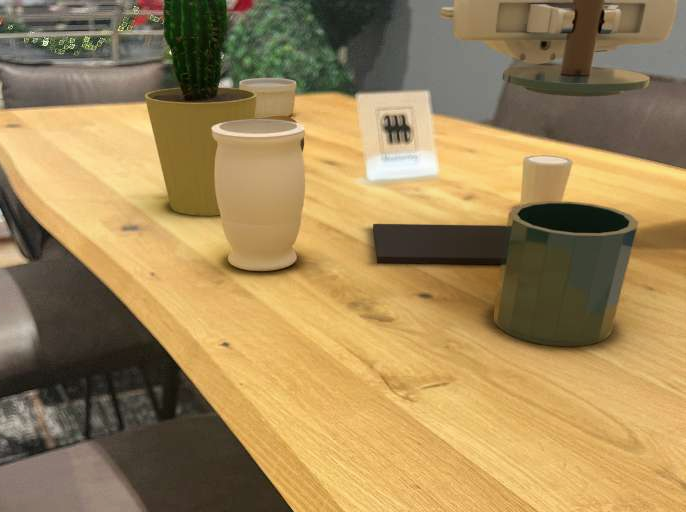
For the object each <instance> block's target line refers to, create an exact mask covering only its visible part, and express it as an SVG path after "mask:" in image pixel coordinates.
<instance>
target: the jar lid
mask: <svg viewBox="0 0 686 512" xmlns="http://www.w3.org/2000/svg"><path fill="white" fill-rule="evenodd" d="M604 2H605V0H573V2H572V8H571V9H575V18H574V20H573V21H572V23H573V29H572V32H571V33H567V37H566V43H565V48H564V54H563V58H562V59H561V65H531V66H530V65H529V66H528V65H527V66H518V67H511V68H507V69H505V70H503V72H502V78H501V79H502V81H503V82H505V83H507V84H510V85H514V86H517V87H522V89H524V90H526V91H528V92H532V93H539V94H543V95H552V96H562V97H582V98H583V97H584V98H585V97H586V98H587V97H588V98H589V97H590V98H592V97H610V96H618V95H622V94H623V93H624V92H630V91H631V92H632V91H638V90H643V89H645V88H647V87H649V84H650V80H651V77H650V76H648V75H647V74H643V73H641V72H636V71H632V70H624V69H616V68H606V67H596V66H593V64H594V58H595V54H596V52H595V48H596V43H597V38H598V33H599V28H600V22H601V17H602V12H603V7H604Z"/></svg>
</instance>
